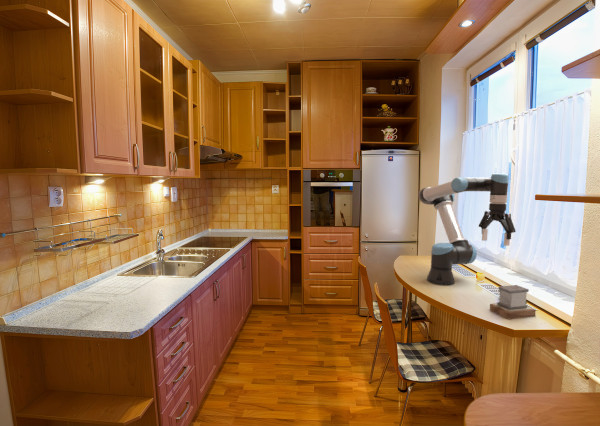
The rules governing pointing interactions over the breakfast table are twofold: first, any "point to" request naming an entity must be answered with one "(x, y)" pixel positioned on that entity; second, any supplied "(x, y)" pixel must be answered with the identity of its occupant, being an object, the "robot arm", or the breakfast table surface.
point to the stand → (512, 312)
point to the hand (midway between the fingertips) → (494, 242)
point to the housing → (512, 297)
